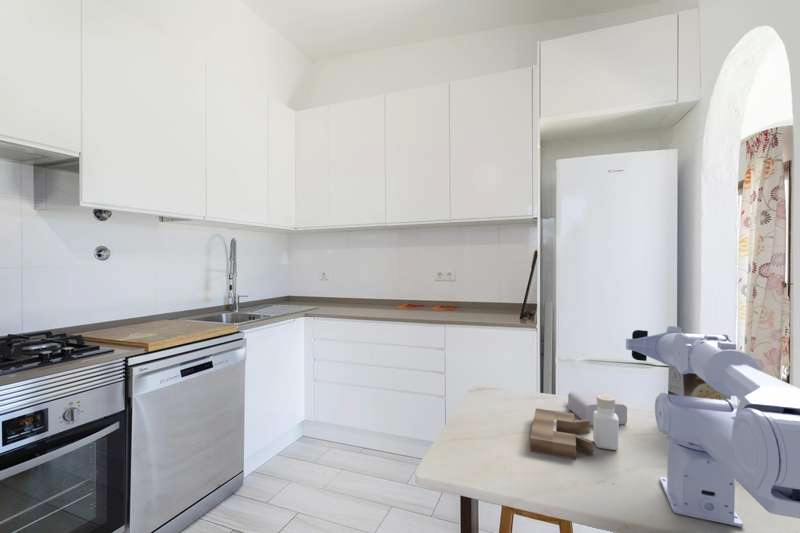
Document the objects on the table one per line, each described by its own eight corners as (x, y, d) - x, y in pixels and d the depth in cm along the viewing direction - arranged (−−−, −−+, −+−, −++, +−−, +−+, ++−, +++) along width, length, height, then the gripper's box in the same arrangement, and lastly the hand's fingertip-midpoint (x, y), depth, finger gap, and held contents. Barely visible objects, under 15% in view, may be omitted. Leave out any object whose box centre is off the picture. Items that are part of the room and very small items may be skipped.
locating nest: (594, 462, 70) (594, 448, 70) (530, 450, 74) (530, 437, 74) (589, 427, 85) (589, 415, 85) (535, 419, 89) (535, 408, 89)
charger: (592, 401, 101) (627, 425, 86) (557, 401, 101) (585, 426, 86) (592, 382, 101) (627, 404, 86) (557, 383, 101) (586, 404, 86)
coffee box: (684, 434, 81) (685, 358, 81) (666, 422, 87) (666, 350, 87) (731, 436, 80) (732, 359, 80) (710, 423, 86) (710, 351, 86)
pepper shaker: (592, 439, 79) (592, 393, 79) (614, 442, 78) (615, 395, 77) (595, 448, 75) (596, 399, 75) (619, 451, 74) (619, 402, 74)
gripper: (736, 331, 63) (704, 330, 75) (633, 322, 68) (619, 322, 81) (736, 375, 62) (704, 367, 75) (632, 363, 67) (618, 357, 80)
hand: (660, 346), depth 78 cm, fingers open, 7 cm apart
